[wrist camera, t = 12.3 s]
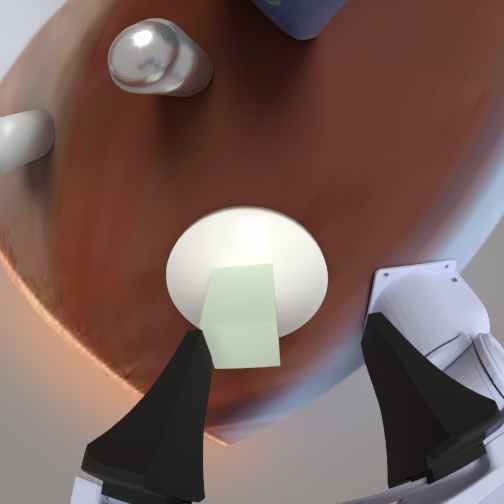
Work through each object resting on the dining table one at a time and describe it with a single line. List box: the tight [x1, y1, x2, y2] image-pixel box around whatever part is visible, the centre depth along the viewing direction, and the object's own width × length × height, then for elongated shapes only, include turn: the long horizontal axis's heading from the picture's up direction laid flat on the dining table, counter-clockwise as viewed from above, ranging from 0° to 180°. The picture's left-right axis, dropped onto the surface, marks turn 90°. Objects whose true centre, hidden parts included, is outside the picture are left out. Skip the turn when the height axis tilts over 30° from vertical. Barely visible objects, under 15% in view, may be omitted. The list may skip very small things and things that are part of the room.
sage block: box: [199, 263, 280, 369], centre depth 19 cm, size 4×4×6 cm
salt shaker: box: [108, 18, 214, 97], centre depth 11 cm, size 4×4×9 cm
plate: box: [166, 206, 328, 338], centre depth 22 cm, size 13×13×1 cm
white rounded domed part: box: [0, 109, 55, 175], centre depth 14 cm, size 4×4×5 cm
